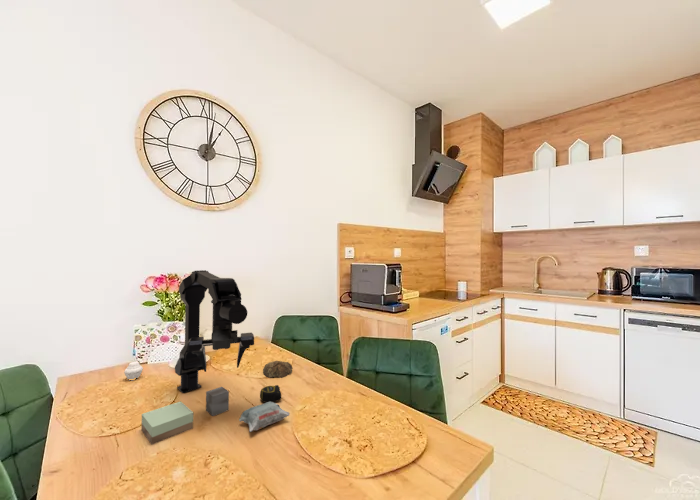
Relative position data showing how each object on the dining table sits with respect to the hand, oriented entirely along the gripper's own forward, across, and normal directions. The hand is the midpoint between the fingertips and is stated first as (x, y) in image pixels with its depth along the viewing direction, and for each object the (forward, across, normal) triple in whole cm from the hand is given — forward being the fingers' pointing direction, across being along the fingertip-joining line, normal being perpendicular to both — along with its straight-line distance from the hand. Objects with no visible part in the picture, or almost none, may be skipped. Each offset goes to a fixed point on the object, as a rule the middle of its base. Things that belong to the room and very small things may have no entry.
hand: (221, 369), depth 92 cm
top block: (+12, -14, -4) cm, 18 cm away
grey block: (+14, -1, +2) cm, 14 cm away
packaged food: (+14, +12, -11) cm, 21 cm away
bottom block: (+14, -14, -4) cm, 20 cm away
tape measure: (+14, +16, +4) cm, 22 cm away
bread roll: (+14, +21, +28) cm, 38 cm away
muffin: (+14, -34, +42) cm, 56 cm away
